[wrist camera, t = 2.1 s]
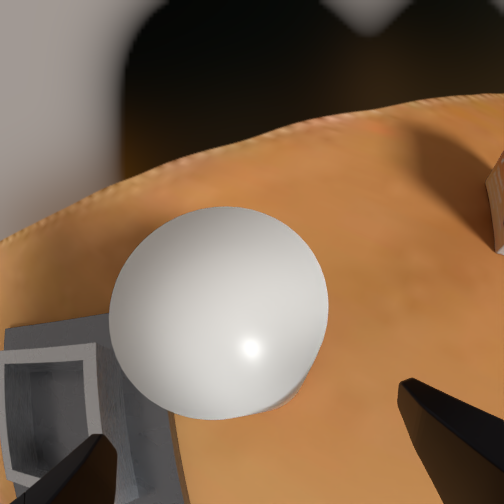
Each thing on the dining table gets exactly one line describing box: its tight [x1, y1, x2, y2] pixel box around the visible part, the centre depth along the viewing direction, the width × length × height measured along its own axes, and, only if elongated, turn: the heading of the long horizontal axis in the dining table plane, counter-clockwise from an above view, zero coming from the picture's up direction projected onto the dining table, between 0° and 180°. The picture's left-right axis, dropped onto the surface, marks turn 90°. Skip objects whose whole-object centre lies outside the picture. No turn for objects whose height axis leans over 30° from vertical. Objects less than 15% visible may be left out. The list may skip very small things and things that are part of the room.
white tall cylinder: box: [109, 207, 328, 420], centre depth 13 cm, size 6×6×12 cm
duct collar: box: [0, 313, 190, 504], centre depth 15 cm, size 16×16×4 cm
